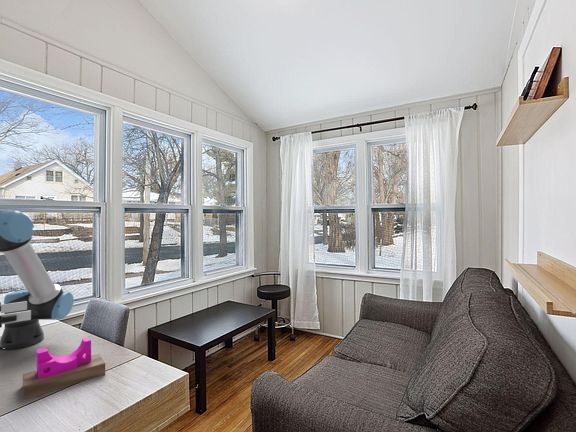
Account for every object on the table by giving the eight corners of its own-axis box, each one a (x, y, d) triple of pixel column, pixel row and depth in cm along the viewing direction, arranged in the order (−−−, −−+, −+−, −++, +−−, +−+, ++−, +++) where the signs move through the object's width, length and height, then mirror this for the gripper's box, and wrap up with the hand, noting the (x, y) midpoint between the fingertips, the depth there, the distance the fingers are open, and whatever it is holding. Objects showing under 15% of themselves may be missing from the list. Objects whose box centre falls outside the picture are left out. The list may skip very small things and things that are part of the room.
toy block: (39, 379, 100) (38, 355, 100) (36, 372, 105) (36, 349, 105) (93, 363, 111) (92, 342, 111) (88, 357, 115) (88, 337, 115)
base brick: (22, 386, 104) (22, 374, 104) (99, 364, 118) (99, 353, 118) (24, 399, 96) (23, 386, 96) (105, 374, 111) (105, 363, 111)
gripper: (-65, 326, 96) (25, 312, 111) (-78, 352, 78) (32, 332, 92) (-65, 301, 96) (25, 291, 111) (-77, 322, 78) (32, 306, 93)
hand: (28, 309), depth 102 cm, fingers open, 13 cm apart
